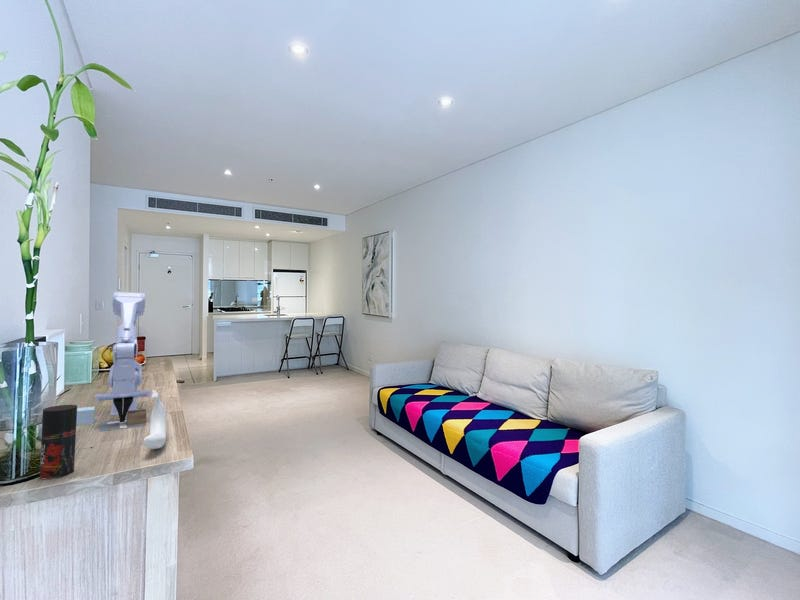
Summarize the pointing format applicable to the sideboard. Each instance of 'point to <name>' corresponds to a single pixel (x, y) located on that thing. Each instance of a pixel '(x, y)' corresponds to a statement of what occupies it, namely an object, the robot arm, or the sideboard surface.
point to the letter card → (116, 425)
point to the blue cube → (85, 415)
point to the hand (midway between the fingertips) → (122, 421)
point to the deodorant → (58, 441)
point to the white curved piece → (156, 425)
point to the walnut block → (136, 417)
